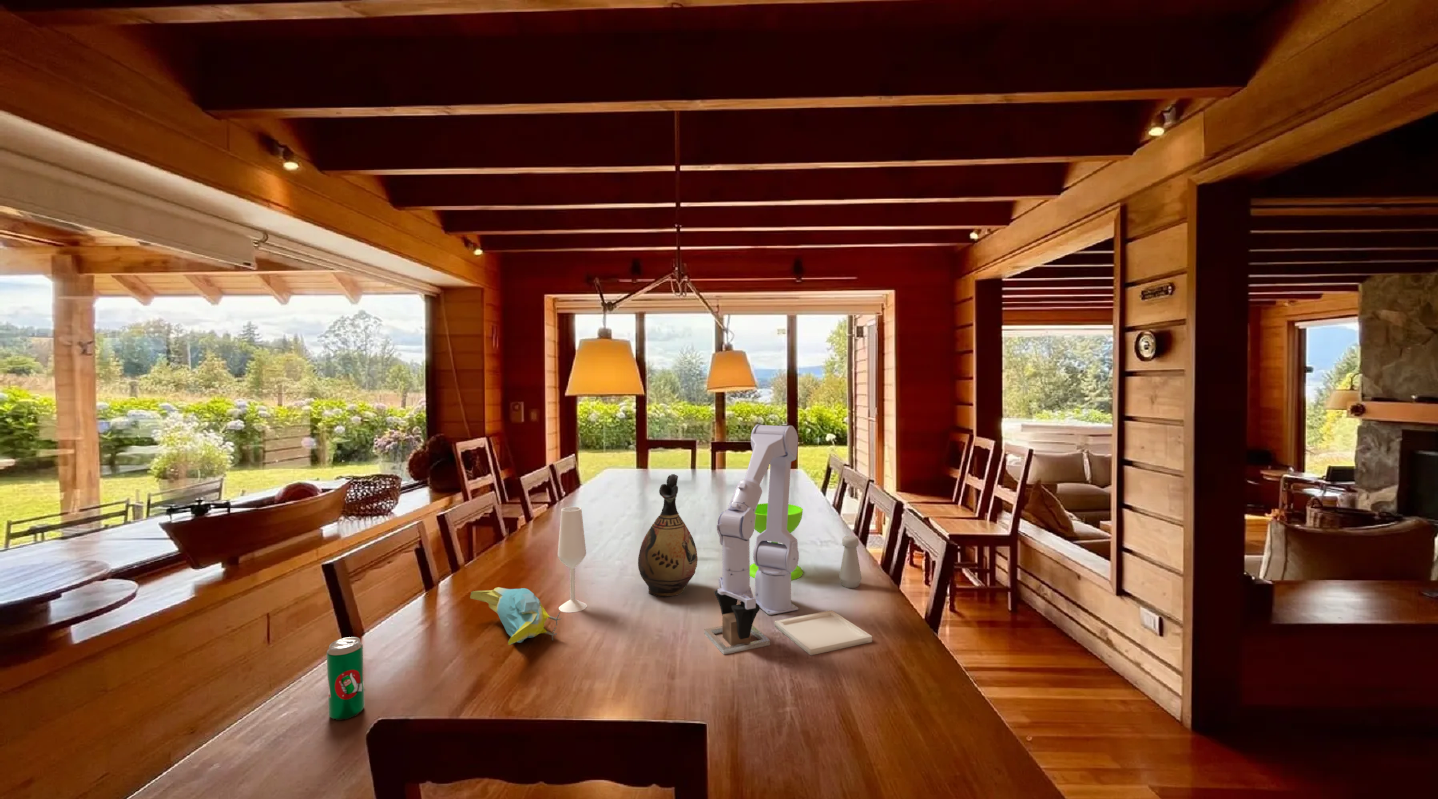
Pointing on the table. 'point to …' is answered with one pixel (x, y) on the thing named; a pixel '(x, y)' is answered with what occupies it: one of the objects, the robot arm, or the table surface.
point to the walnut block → (732, 630)
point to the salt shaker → (850, 563)
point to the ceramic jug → (668, 548)
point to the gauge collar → (740, 647)
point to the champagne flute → (571, 551)
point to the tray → (822, 632)
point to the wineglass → (792, 524)
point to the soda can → (345, 678)
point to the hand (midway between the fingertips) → (736, 630)
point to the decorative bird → (517, 612)
